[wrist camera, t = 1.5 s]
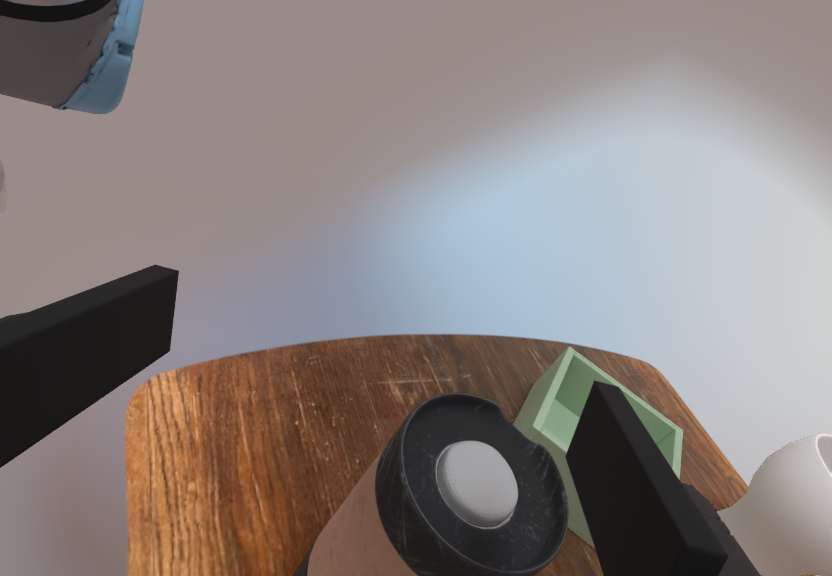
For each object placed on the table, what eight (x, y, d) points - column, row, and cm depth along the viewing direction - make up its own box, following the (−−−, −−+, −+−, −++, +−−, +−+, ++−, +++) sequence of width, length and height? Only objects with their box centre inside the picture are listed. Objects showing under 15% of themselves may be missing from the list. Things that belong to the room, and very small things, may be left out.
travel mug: (257, 713, 27) (407, 575, 15) (271, 561, 33) (389, 374, 21) (389, 705, 30) (601, 582, 18) (381, 565, 35) (540, 403, 24)
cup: (661, 514, 51) (787, 434, 42) (716, 495, 56) (838, 421, 48) (740, 634, 44) (909, 570, 35) (793, 599, 50) (950, 536, 41)
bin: (491, 466, 46) (532, 425, 42) (533, 384, 57) (569, 345, 53) (619, 569, 44) (675, 537, 40) (637, 464, 55) (683, 430, 51)
